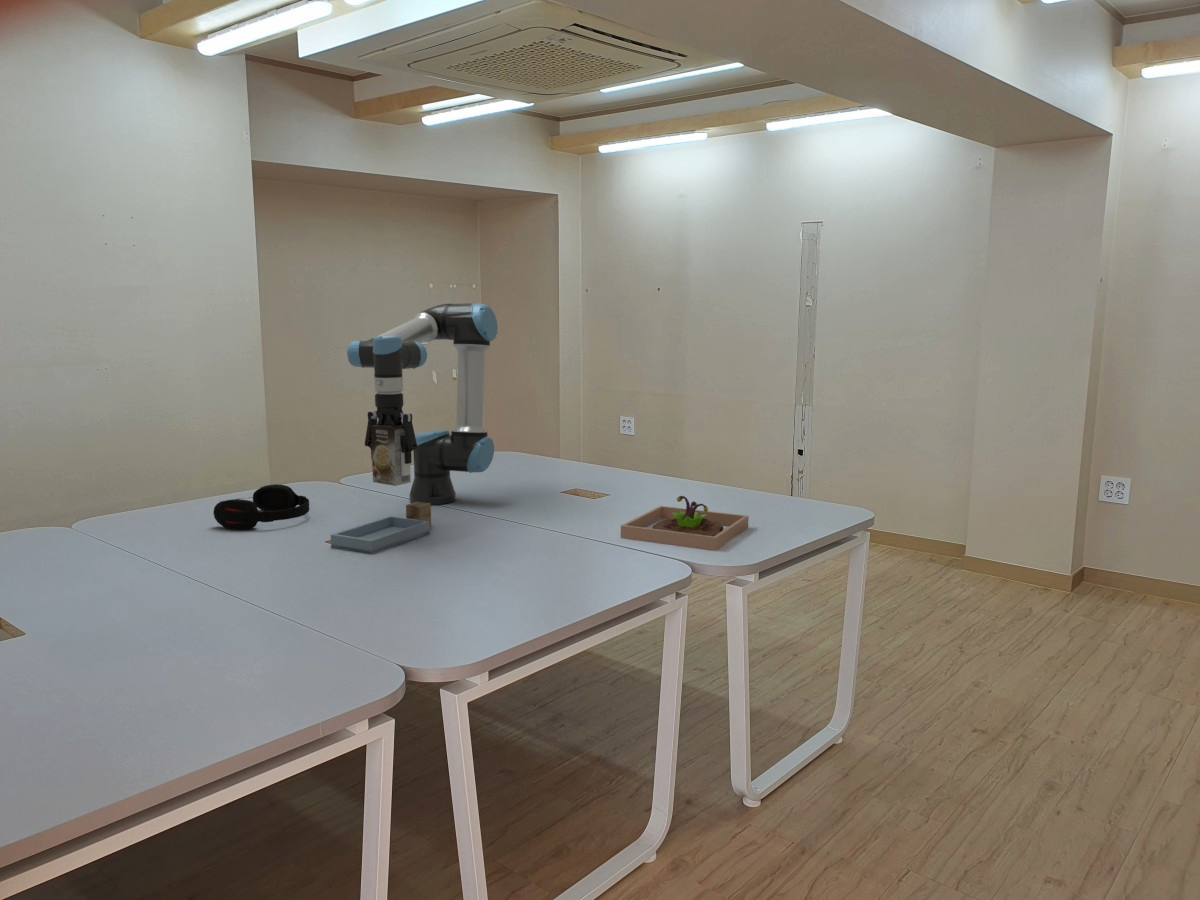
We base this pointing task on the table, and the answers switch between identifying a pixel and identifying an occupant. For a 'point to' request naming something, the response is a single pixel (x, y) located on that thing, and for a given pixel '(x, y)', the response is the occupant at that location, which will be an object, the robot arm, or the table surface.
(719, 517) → the plant saucer
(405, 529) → the tray
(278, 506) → the headset
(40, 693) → the table surface
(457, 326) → the robot arm
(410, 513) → the walnut block
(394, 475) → the coffee box
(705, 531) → the plant
